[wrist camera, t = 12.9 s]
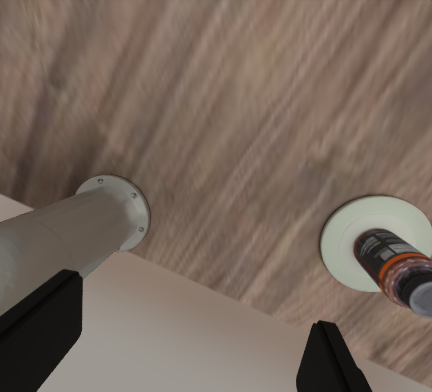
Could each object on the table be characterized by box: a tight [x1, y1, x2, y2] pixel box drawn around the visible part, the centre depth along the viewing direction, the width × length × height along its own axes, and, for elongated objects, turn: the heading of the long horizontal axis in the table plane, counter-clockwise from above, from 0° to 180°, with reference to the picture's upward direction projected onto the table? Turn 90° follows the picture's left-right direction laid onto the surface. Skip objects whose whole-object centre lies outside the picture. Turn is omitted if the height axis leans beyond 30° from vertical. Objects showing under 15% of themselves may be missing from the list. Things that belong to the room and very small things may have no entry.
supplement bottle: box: [354, 229, 432, 318], centre depth 28 cm, size 6×6×11 cm
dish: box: [320, 195, 432, 292], centre depth 35 cm, size 14×14×2 cm
